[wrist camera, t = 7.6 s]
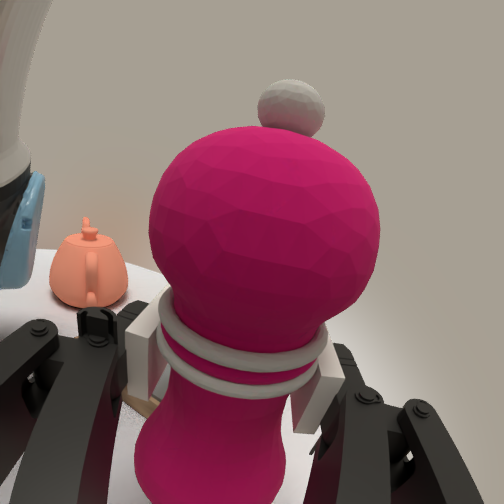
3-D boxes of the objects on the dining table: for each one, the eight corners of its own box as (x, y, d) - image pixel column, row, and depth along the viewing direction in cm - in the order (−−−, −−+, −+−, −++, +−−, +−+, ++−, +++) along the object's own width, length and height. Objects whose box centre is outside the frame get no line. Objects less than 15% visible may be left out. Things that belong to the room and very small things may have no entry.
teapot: (52, 270, 49) (53, 213, 46) (116, 270, 58) (120, 217, 55) (48, 323, 32) (42, 243, 29) (139, 319, 42) (144, 246, 39)
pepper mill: (127, 459, 12) (144, 76, 7) (227, 442, 16) (308, 126, 11) (167, 553, 6) (245, -58, 2) (282, 518, 10) (469, 136, 5)
